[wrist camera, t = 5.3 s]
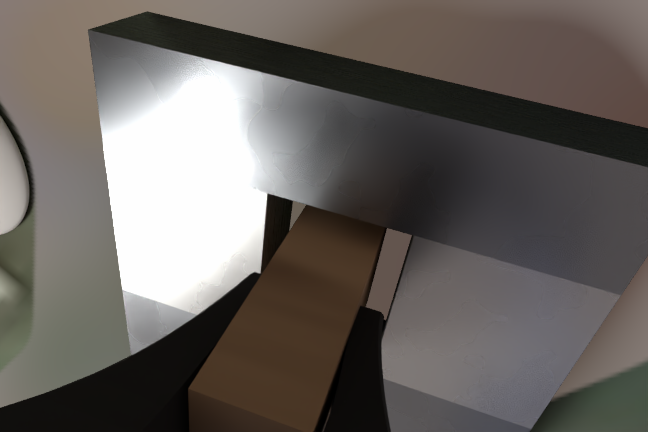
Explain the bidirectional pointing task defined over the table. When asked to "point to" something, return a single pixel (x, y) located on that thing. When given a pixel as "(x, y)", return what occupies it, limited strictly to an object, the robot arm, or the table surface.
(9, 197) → the wineglass
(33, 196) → the table surface
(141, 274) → the square steel tile
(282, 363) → the brown wooden block
